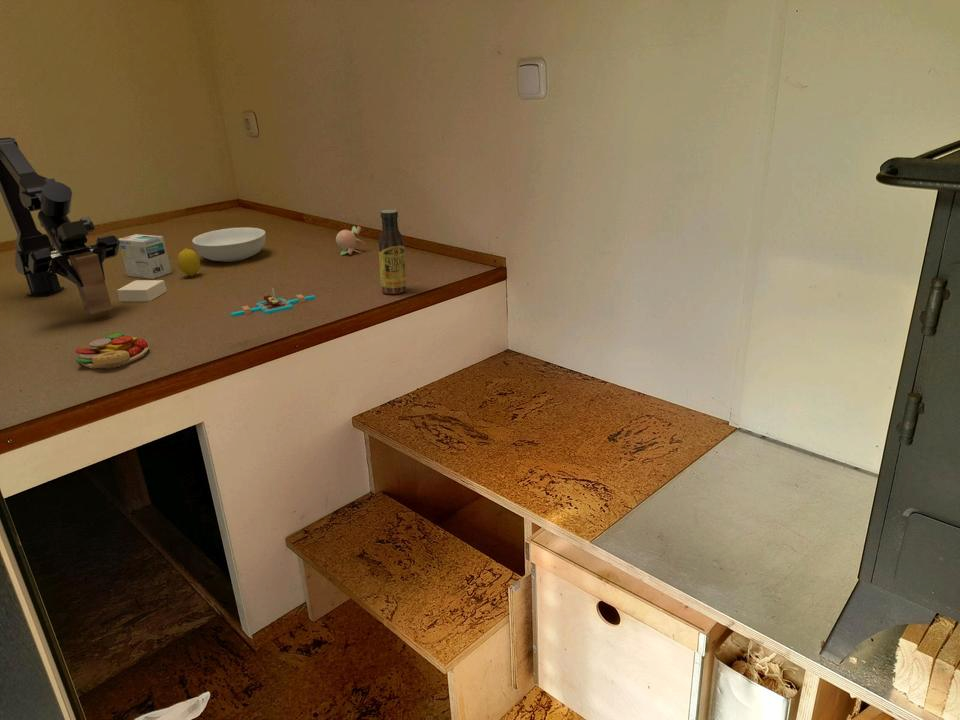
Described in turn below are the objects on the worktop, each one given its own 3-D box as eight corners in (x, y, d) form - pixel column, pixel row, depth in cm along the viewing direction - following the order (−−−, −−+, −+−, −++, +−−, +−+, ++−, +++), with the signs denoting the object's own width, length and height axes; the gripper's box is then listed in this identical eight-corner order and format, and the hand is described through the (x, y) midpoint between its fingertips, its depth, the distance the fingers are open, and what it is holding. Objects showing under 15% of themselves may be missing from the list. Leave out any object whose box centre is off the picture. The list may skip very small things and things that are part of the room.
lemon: (195, 279, 188) (189, 251, 185) (177, 279, 189) (170, 250, 186) (206, 273, 193) (200, 245, 190) (188, 273, 194) (182, 245, 191)
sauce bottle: (387, 297, 167) (378, 215, 159) (378, 290, 172) (369, 210, 164) (412, 292, 170) (405, 211, 162) (402, 285, 175) (395, 207, 167)
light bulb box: (172, 272, 196) (164, 235, 191) (153, 279, 190) (144, 241, 186) (145, 269, 200) (136, 233, 196) (126, 276, 194) (116, 238, 190)
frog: (371, 234, 207) (359, 233, 213) (350, 220, 202) (338, 219, 207) (358, 263, 206) (345, 261, 211) (336, 250, 200) (324, 249, 206)
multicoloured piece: (226, 312, 164) (236, 322, 157) (222, 290, 162) (232, 300, 155) (307, 294, 174) (320, 304, 166) (304, 273, 172) (317, 282, 164)
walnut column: (84, 310, 161) (68, 256, 156) (104, 304, 164) (89, 251, 159) (92, 314, 158) (76, 259, 153) (112, 308, 161) (97, 254, 156)
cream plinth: (119, 301, 173) (116, 290, 172) (138, 291, 181) (135, 280, 179) (149, 301, 172) (146, 290, 171) (166, 291, 180) (164, 280, 178)
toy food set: (111, 376, 132) (107, 360, 131) (62, 368, 137) (57, 353, 135) (164, 349, 143) (160, 335, 142) (116, 343, 148) (112, 329, 147)
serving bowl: (181, 265, 203) (176, 242, 200) (229, 247, 221) (225, 225, 218) (237, 270, 196) (233, 246, 193) (283, 251, 213) (279, 229, 210)
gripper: (16, 215, 148) (51, 273, 146) (105, 200, 160) (138, 253, 158) (15, 246, 156) (48, 301, 154) (100, 229, 168) (131, 280, 166)
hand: (93, 283), depth 158 cm, fingers closed on walnut column, 4 cm apart
